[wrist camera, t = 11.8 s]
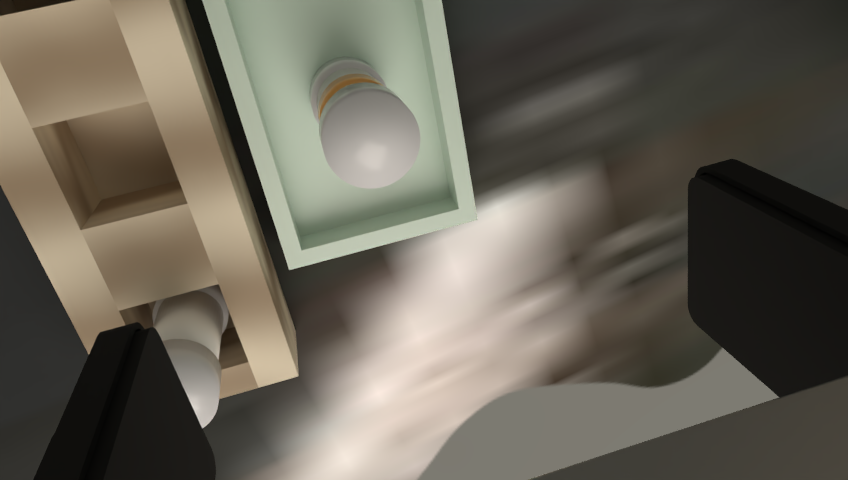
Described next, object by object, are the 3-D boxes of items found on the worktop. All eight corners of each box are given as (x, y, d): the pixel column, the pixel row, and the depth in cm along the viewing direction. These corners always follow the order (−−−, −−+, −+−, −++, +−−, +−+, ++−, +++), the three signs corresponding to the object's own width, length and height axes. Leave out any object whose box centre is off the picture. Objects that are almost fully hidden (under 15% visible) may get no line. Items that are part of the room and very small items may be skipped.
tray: (190, -57, 25) (183, -57, 23) (412, -102, 26) (424, -106, 24) (288, 250, 31) (289, 269, 30) (465, 203, 33) (477, 219, 31)
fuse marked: (300, 65, 28) (311, 105, 20) (374, 48, 28) (410, 81, 21) (320, 138, 29) (336, 198, 22) (389, 121, 29) (428, 175, 22)
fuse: (148, 278, 30) (109, 380, 23) (217, 260, 30) (201, 355, 23) (172, 335, 31) (144, 447, 24) (239, 317, 32) (229, 422, 25)
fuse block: (-110, -147, 22) (-183, -166, 19) (122, -189, 23) (95, -214, 20) (141, 373, 33) (125, 425, 29) (295, 330, 33) (298, 376, 30)
